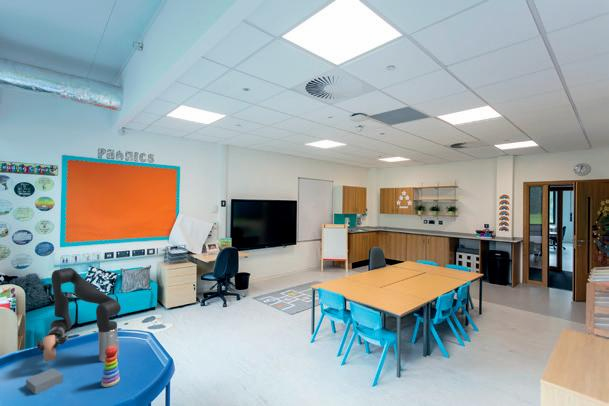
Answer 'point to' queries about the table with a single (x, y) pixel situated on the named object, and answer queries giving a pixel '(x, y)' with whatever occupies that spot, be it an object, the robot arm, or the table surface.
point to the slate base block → (44, 381)
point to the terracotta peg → (49, 348)
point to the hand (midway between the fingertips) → (48, 348)
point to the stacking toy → (110, 368)
